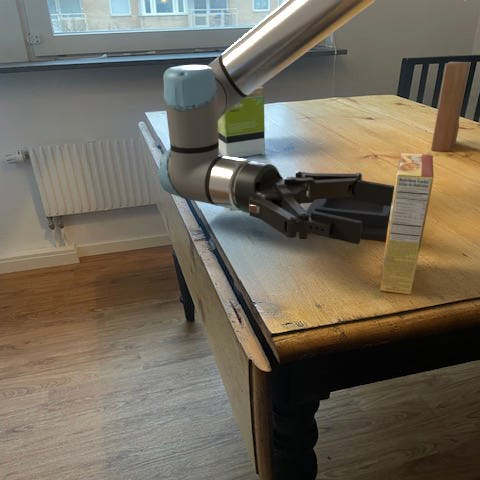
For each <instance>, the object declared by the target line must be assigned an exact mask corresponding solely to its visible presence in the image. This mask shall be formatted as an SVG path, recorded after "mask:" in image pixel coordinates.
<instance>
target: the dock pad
mask: <svg viewBox="0 0 480 480" xmlns="http://www.w3.org/2000/svg"><path fill="white" fill-rule="evenodd" d="M305 211H306V212H307V213H308V214H309V217H311V213H312V212H313V211H317V212H322V213H326V214H331V215H335V216H340V217H345V218H349V219H354V220H359V221H363V222H362V231H361V240H362V239H363V240H369V241H370V240H371V241H379V242H386V238H387V231H388V224H389V218H390V211H391V207H390V206H385V205H380V204H375V203H370V202H365V201H359V200H356V197H344V198H328V199H315V200H314V201H313V202H312V203H310V205H309V206H308V208H307V209H306V210H305Z"/></svg>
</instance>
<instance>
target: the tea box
mask: <svg viewBox="0 0 480 480" xmlns="http://www.w3.org/2000/svg"><path fill="white" fill-rule="evenodd" d="M265 126H266V125H265V88H264V87H262V86H260V87H258V88H257V89H256V90H254V91H253V92H252V93H250V94H249V95H248V96H246V97H245V98H244V99H243V100H242V101H240V102H239V103H238V104H236V105H235V106H234V107H232V108H231V109H230V110H228V111H227V112H226V113H225V114H223V116H222V117H221V118H220V119H219V120H218V140H219V154H220V155H221V156H226V157H233V158H245V157H251V156H257V155H263V154H266V139H265V138H266V137H265V134H266V133H265V132H266V129H265V128H266V127H265Z"/></svg>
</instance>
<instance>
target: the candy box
mask: <svg viewBox="0 0 480 480" xmlns="http://www.w3.org/2000/svg"><path fill="white" fill-rule="evenodd" d="M434 174H435V173H434V155H431V154H425V153H407V152H406V153H405V152H404V153H403V152H402V153H400V154H399V159H398V165H397V170H396V175H395V180H394V185H393V186H394V192H393V198H392V204H391V211H390V218H389V224H388V231H387V238H386V241H385V245H384V254H383V259H382V260H383V261H382V269H381V278H380V286H379V291H380V292H387V293H395V294H402V295H403V294H404V295H411V294H412V289H413V285H414V279H415V275H416V271H417V264H418V261H419V260H418V259H419V256H420V251H421V245H422V242H423V241H422V240H423V235H424V230H425V226H426V220H427V214H428V209H429V204H430V200H431V194H432V190H433V183H434V178H435V177H434V176H435V175H434Z"/></svg>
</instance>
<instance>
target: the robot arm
mask: <svg viewBox="0 0 480 480" xmlns="http://www.w3.org/2000/svg"><path fill="white" fill-rule="evenodd" d="M376 1H377V0H286V1H285V2H283V3H282V4H281V5H280V6H278V7H277V8H276V9H275V10H274V11H272V12H271V13H270V14H269V15H267V16H266V17H265V18H264V19H263V20H261V21H260V22H259V23H258V24H257V25H255V26H254V27H253V28H252V29H250V30H249V31H248V32H247V33H245V34H244V35H243V36H242V37H241V38H239V39H238V40H237V41H236V42H234V44H232V45H231V46H230V47H228V48H227V49H226V50H225V51H224V52H222V53H221V54H220V55H219V56H218V57H216V58H215V59H214V60H212V61H211V62H210V63H209V64H208V65H205V64H187V65H186V64H185V65H178V66H177V65H176V66H171V67H169V68H167V69H166V70H165V71H164V73H163V76H162V77H163V96H162V97H163V101H164V104H165V112H166V120H167V129H168V130H167V131H168V137H169V146H170V147H169V148H168V149H167V150H166V151H164V153H163V154H162V155H161V157H160V159H159V167H158V169H157V178H158V182H159V184H160V186H161V187H162V189H163V190H164V192H167V193H168V194H169V195H173V196H176V197H179V198H181V199H184V200H186V201H187V200H188V201H195V202H199V203H204V204H209V205H214V206H216V207H222V208H225V209H226V208H227V209H229V211H231V212H235V211H239V212H243V213H245V214H248V215H249V217H252V218H255V219H258V220H261V221H262V222H264V223H265V224H267V225H268V226H269V227H271V228H273V229H274V230H276V231H277V232H279V233H280V234H282V235H283V236H285V237H286V238H288V239H295V238H297V234H298V240H302V241H305V240H308V238H309V234H313V235H316V236H321V237H325V238H329V239H333V240H337V241H342V242H344V243H346V242H347V243H350V244H353V245H359V244H360V243H361V241H362V239H361V231H362V222H363V221H359V220H354V219H349V218H345V217H340V216H335V215H331V214H326V213H322V212H317V211H313V212H312V213H311V217H309V214H308V213H307V212H306V211H307V210H305V208H303V206H302V205H301V204H312V202H313V201H314V200H315V199H328V198H344V197H356V200H359V201H365V202H370V203H375V204H380V205H385V206H390V207H391V204H392V198H393V192H394V186H395V185H391V184H386V183H385V184H384V183H380V182H374V181H369V180H363V174H362V173H361V172H356V173H328V172H327V173H325V172H323V173H321V172H319V173H317V172H307V171H296V172H295V174H294V175H295V176H285V177H282V175H281V173H280V172H279V170H278V168H277V167H276V166H275V165H273V164H272V163H266V162H261V161H255V160H254V161H253V160H249V159H247V158H246V159H245V158H241V157H239V158H233V157H226V156H223V155H222V154H220V152H219V140H218V120H219V119H220V118H221V117H222V116H223V114H225V113H226V112H227V111H228V110H230V109H231V108H232V107H234V106H235V105H236V104H238V103H239V102H240V101H242V100H243V99H244V98H245V97H246V96H248V95H249V94H250V93H252V92H253V91H254V90H256V89H257V88H258V87H262V86H263V85H264V84H265V83H267V82H269V80H271V79H272V78H273V77H275V76H276V75H277V74H279V73H280V72H282V71H283V70H284V69H285V68H287V67H288V66H290V65H291V64H292V63H294V62H295V61H296V60H298V59H299V58H301V57H302V56H303V55H304V54H306V53H307V52H309V51H311V49H313V48H314V47H315V46H316V45H318V44H319V43H321V42H322V41H323V40H325V39H326V38H328V37H329V36H330V35H331V34H333V33H334V32H336V31H337V30H338V29H340V27H343V26H344V25H345V24H347V23H348V22H349V21H351V20H352V19H353V18H354V17H355V16H357V15H358V14H360V13H361V12H362V11H364V10H365V9H366V8H368V7H369V6H371V5H372V4H373V3H375V2H376ZM463 1H464V2H467V1H468V0H463Z"/></svg>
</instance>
